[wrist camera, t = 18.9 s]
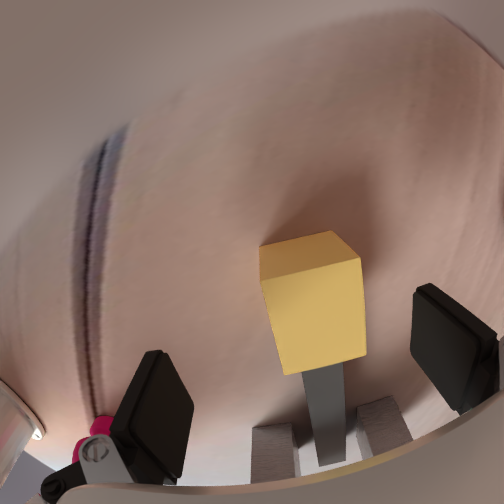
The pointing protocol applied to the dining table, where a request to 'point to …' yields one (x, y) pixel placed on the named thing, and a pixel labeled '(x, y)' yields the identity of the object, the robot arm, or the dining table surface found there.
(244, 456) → the dining table surface
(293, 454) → the block
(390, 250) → the dining table surface
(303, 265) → the yellow tipped gray bar
